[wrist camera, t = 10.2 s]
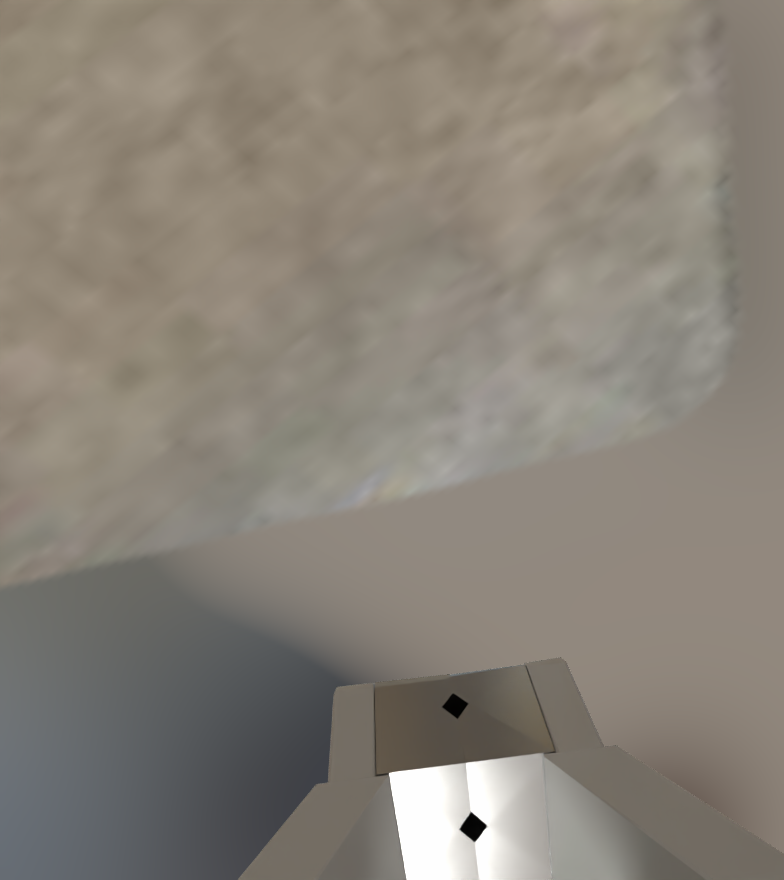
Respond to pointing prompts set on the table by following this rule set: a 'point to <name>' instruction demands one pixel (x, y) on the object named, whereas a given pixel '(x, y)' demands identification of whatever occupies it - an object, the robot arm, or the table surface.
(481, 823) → the robot arm
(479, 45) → the table surface
